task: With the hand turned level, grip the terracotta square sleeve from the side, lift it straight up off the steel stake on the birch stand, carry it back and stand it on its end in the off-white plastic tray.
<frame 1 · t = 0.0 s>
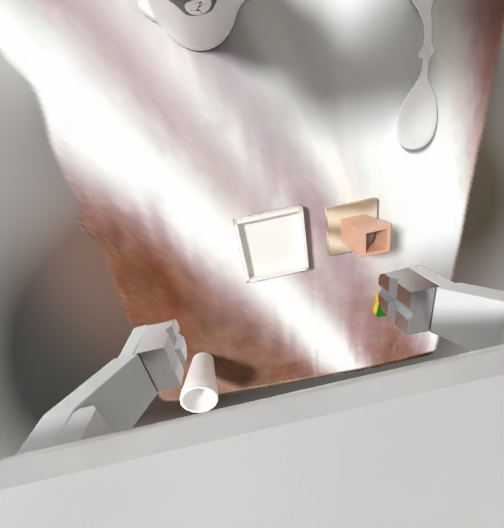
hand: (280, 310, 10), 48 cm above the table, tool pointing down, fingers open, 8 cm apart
tray: (271, 243, 60), on the table
foam cup: (203, 359, 73), on the table
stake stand: (349, 226, 60), on the table
sleeve: (352, 228, 59), point 1 cm above the table, touching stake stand
dish sponge: (396, 299, 72), on the table
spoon: (414, 62, 48), on the table
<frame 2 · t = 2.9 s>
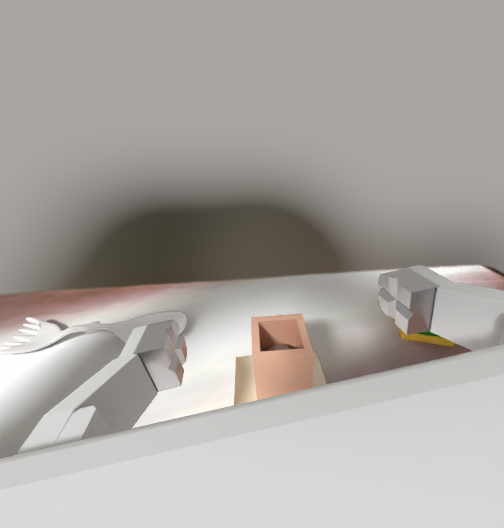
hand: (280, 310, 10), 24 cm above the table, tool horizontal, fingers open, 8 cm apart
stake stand: (281, 399, 31), on the table
sleeve: (281, 392, 31), point 1 cm above the table, touching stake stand
dish sponge: (414, 316, 44), on the table
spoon: (102, 339, 45), on the table
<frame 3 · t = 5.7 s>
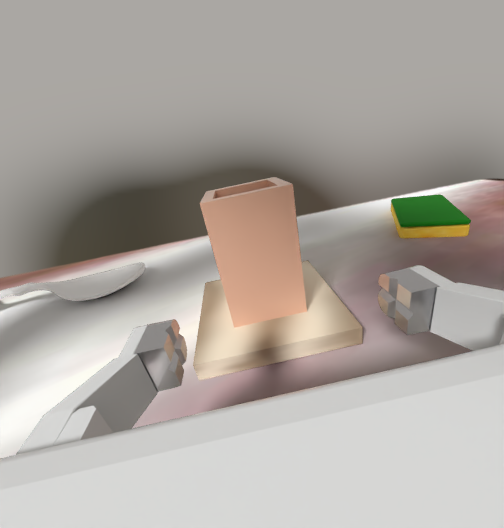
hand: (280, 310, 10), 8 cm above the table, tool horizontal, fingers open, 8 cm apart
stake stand: (267, 312, 23), on the table
sleeve: (265, 299, 22), point 1 cm above the table, touching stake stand
dish sponge: (421, 224, 36), on the table
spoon: (41, 306, 35), on the table
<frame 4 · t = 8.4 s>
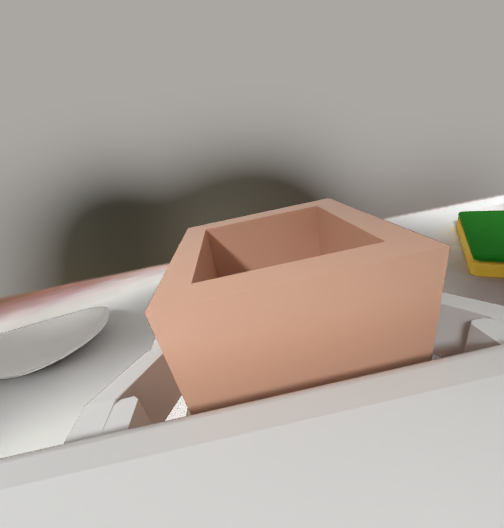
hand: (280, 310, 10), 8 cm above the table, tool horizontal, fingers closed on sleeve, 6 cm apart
sleeve: (303, 432, 11), point 2 cm above the table, touching gripper, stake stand
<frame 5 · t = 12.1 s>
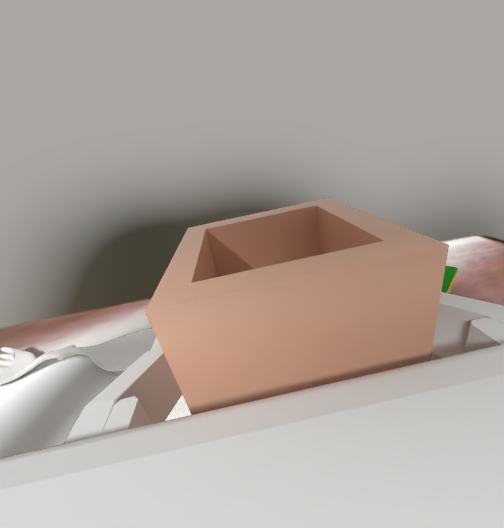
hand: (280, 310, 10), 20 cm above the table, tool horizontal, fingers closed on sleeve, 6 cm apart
sleeve: (303, 431, 12), point 14 cm above the table, touching gripper
dish sponge: (419, 294, 41), on the table
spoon: (79, 366, 40), on the table
when the fingers open (9 cm above the table, at t = 15.9 s): sleeve drops 1 cm, resting on tray.
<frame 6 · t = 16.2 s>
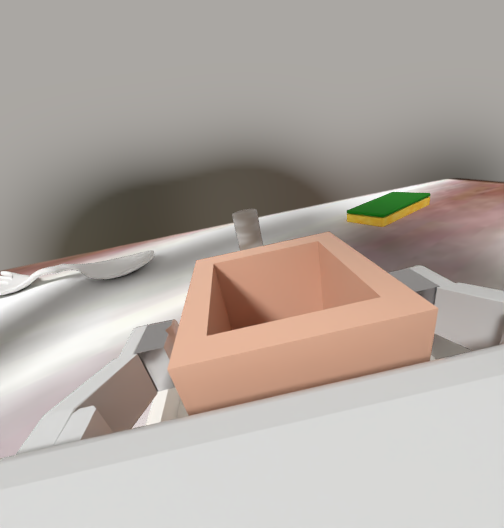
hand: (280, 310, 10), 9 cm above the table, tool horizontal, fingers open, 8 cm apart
tray: (307, 456, 12), on the table
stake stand: (257, 278, 31), on the table
sleeve: (305, 450, 12), point 1 cm above the table, touching tray
dish sponge: (387, 215, 44), on the table
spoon: (71, 283, 43), on the table
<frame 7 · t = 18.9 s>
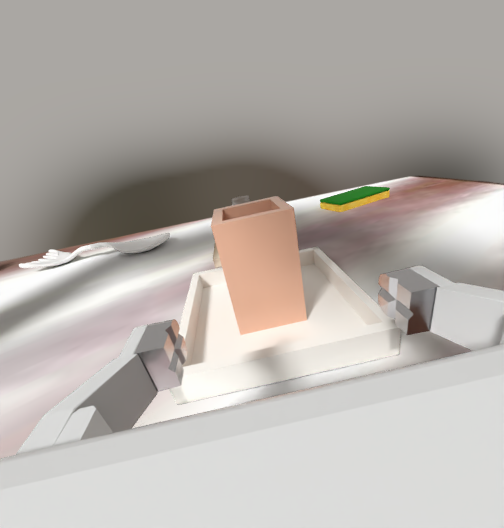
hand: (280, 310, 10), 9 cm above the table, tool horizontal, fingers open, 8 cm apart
tray: (269, 312, 24), on the table
sleeve: (268, 308, 24), point 1 cm above the table, touching tray
dish sponge: (354, 205, 56), on the table
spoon: (105, 258, 55), on the table
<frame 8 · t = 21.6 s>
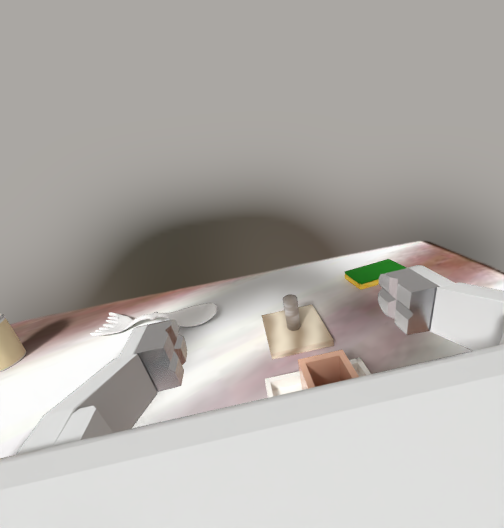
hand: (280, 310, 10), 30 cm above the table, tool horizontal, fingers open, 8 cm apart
tray: (333, 427, 33), on the table
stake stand: (294, 331, 51), on the table
sleeve: (332, 425, 33), point 1 cm above the table, touching tray
dish sponge: (375, 278, 65), on the table
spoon: (160, 325, 64), on the table
coffee cup: (8, 362, 61), on the table
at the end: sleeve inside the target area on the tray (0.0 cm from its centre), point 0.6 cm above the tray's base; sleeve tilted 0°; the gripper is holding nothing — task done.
